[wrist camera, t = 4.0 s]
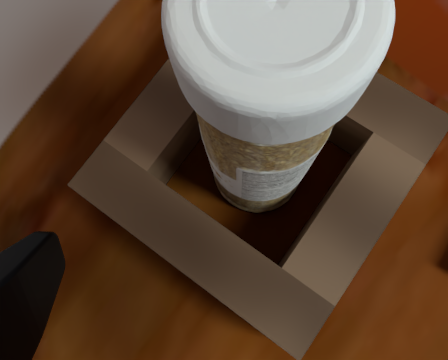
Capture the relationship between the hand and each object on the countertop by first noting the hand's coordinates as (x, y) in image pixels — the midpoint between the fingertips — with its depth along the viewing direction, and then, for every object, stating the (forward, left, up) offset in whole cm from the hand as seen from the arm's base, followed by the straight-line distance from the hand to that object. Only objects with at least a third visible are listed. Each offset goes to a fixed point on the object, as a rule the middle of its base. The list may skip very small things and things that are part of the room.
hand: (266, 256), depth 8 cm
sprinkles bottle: (+3, +4, -12) cm, 13 cm away
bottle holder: (+3, +4, -11) cm, 12 cm away
